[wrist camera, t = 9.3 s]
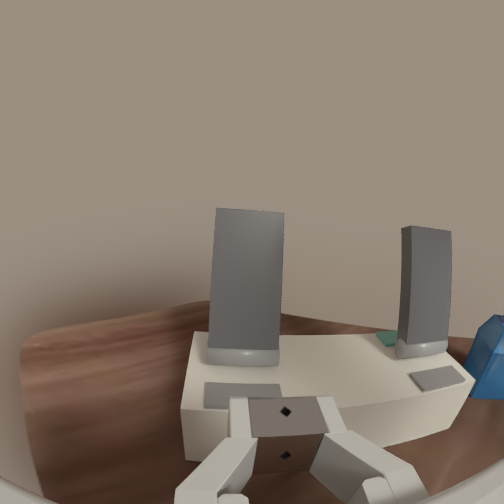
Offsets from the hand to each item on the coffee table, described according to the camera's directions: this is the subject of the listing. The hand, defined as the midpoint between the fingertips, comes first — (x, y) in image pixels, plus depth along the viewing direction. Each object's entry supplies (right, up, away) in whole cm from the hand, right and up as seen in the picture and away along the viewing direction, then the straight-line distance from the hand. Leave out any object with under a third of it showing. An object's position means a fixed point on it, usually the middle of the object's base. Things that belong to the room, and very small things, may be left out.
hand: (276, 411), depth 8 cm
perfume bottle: (+28, -12, +17) cm, 35 cm away
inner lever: (+14, -4, +15) cm, 21 cm away
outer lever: (-1, -3, +13) cm, 13 cm away
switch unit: (+6, -10, +16) cm, 20 cm away
